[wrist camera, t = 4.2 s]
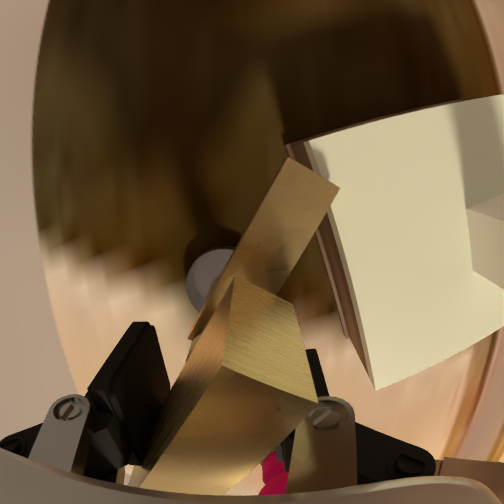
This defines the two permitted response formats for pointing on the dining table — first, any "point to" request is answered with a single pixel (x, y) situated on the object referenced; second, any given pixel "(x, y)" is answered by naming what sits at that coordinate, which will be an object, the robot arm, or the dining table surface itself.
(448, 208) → the cover
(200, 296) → the silver metal disc
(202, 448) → the key
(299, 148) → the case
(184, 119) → the dining table surface
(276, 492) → the pepper mill
